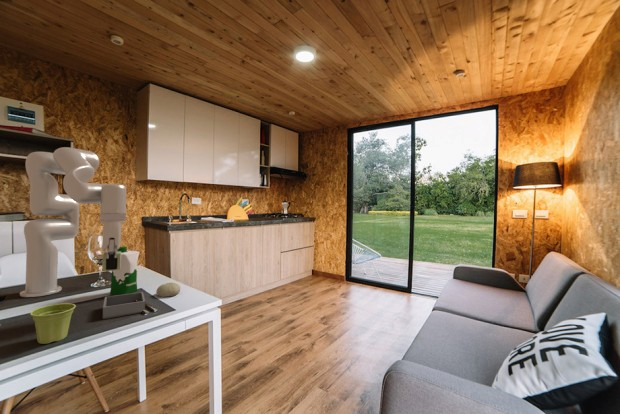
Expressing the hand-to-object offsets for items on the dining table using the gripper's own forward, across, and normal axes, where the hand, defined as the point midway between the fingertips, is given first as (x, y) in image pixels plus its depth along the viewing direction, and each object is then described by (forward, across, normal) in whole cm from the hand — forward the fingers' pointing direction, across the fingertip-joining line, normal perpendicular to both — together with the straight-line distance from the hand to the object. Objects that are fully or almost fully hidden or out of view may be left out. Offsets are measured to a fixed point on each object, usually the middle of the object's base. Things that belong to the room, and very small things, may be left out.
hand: (112, 267), depth 97 cm
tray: (+16, 0, +4) cm, 17 cm away
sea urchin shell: (+17, -11, +20) cm, 28 cm away
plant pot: (+16, +16, -13) cm, 26 cm away
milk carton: (+16, -22, +4) cm, 27 cm away
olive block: (+1, 0, 0) cm, 1 cm away
